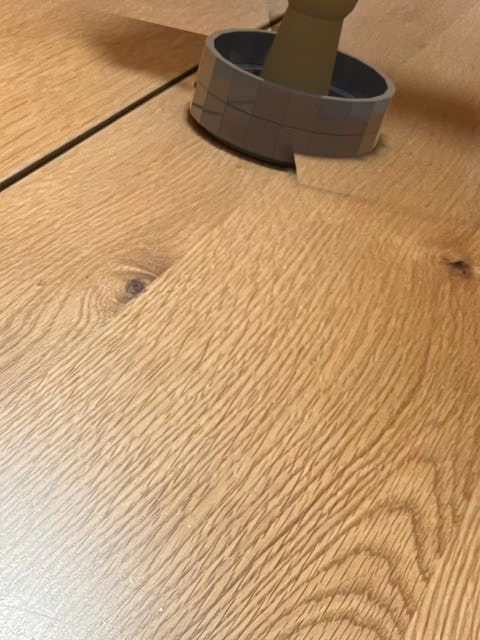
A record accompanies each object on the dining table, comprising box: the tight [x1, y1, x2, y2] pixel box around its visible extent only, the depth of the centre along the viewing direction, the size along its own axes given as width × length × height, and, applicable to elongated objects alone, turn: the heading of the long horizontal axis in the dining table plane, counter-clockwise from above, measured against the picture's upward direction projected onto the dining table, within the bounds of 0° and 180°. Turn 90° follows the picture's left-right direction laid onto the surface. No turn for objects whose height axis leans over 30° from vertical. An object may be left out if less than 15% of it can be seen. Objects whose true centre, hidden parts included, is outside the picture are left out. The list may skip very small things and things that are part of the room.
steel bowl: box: [189, 27, 397, 169], centre depth 94 cm, size 14×14×5 cm
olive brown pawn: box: [259, 0, 359, 96], centre depth 91 cm, size 6×6×11 cm
